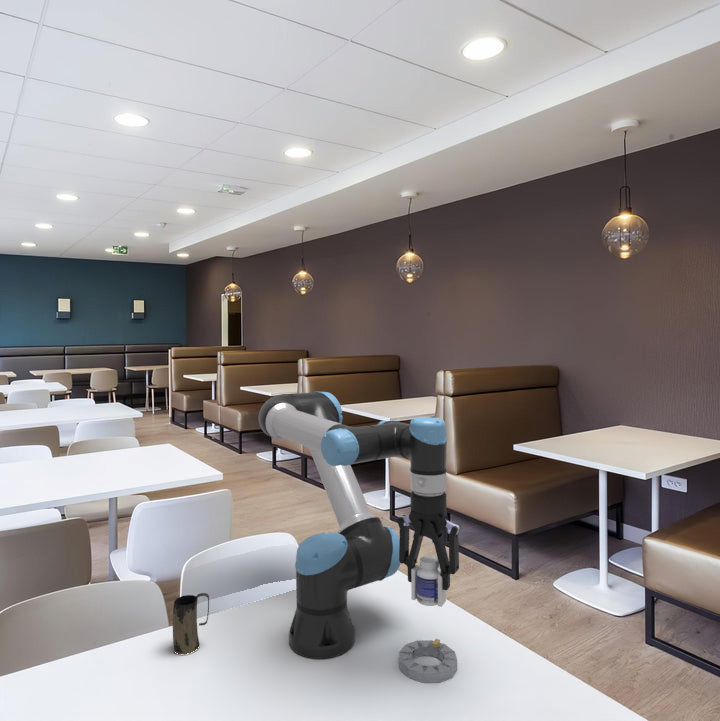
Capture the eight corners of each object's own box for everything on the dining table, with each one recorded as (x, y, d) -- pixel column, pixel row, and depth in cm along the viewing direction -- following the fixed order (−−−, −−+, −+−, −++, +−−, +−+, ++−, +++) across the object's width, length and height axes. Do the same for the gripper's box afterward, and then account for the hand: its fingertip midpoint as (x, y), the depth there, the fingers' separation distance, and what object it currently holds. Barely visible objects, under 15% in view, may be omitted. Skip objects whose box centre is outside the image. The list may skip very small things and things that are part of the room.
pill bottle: (440, 607, 113) (441, 565, 113) (415, 605, 114) (415, 563, 114) (442, 596, 118) (442, 555, 118) (418, 593, 119) (418, 553, 119)
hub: (389, 671, 114) (389, 658, 114) (413, 643, 125) (413, 631, 125) (444, 689, 108) (444, 675, 108) (464, 658, 119) (464, 646, 119)
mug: (171, 656, 120) (170, 603, 119) (174, 643, 125) (173, 591, 125) (209, 652, 122) (208, 599, 121) (210, 638, 127) (209, 588, 127)
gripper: (381, 490, 116) (382, 598, 117) (464, 502, 107) (464, 618, 108) (396, 482, 123) (397, 584, 124) (476, 492, 114) (476, 602, 115)
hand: (428, 600), depth 116 cm, fingers closed on pill bottle, 5 cm apart
